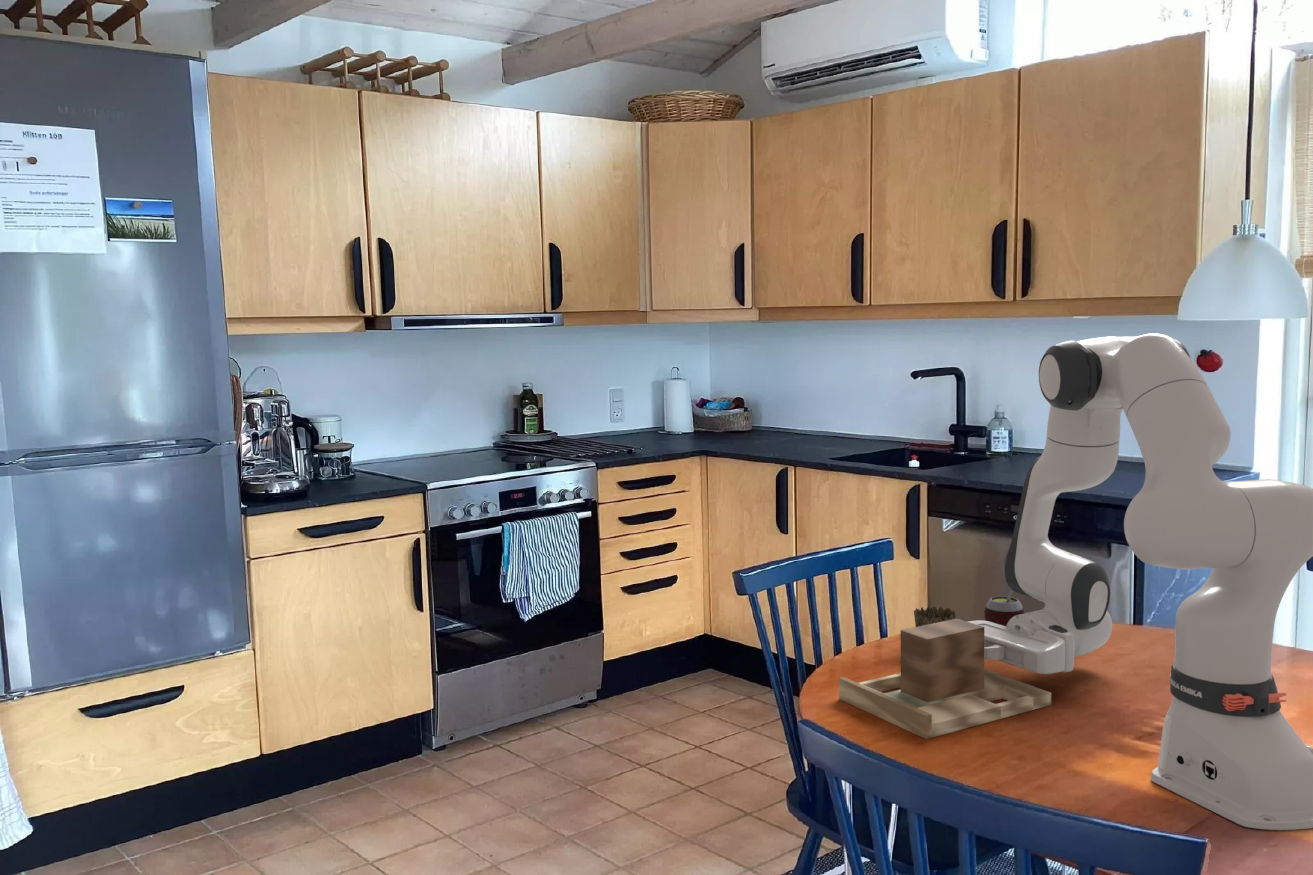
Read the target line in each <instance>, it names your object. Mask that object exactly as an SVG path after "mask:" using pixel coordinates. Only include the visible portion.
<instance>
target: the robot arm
mask: <svg viewBox="0 0 1313 875" xmlns="http://www.w3.org/2000/svg"><path fill="white" fill-rule="evenodd" d="M1038 366H1039V367H1038V382H1039V384H1038V385H1039V388H1040V392H1041V393H1042V396H1043V397H1044V398H1045V400H1046V401H1047V402H1048V403H1049V405H1050V408H1049V412H1048V420H1047V427H1046V440H1045V445H1044V449H1043V451H1042V453H1041V455H1040V456H1037V457H1036V458H1035V459H1034V460H1033V461H1032V462H1031V464H1030V465H1029V467H1028V470H1027V472H1026V475H1025V479H1024V481H1023V482H1024V483H1023V487H1022V492H1021V496H1020V501H1019V505H1018V510H1017V516H1016V520H1015V523H1014V529H1013V534H1012V538H1011V541H1010V543H1009V546H1008V548H1007V551H1006V554H1005V556H1004V559H1003V565H1002V566H1003V567H1002V569H1003V575H1004V579H1005V581H1006V584H1007V585H1008V587H1009V589H1010V588H1011V589H1012V590H1013V592H1014V593H1018V594H1020V595H1023V596H1027V597H1029V598H1033V599H1036V600H1037V601H1040V602H1042V603H1044V607H1043V608H1042V609H1040V610H1035V611H1030V612H1024V614H1020V615H1016V616H1014V617H1012V618H1011V619H1010V620H1009V622H1008V623H1007V626H1003V625H1000V624H996V623H993V622H989V621H985V619H984V620H983V619H982V620H980V619H979V620H978V619H977V620H970V621H969V620H968V621H966V622H970V623H973V624H976V625H979V626H983V627H984V660H989V661H990V660H992V661H993V660H995V661H999V662H1001V663H1005V664H1008V665H1010V666H1014V667H1016V668H1019V669H1023V670H1026V671H1029V672H1032V673H1034V674H1039V675H1050V674H1056V673H1061V672H1062V673H1069V672H1072V671H1074V665H1075V658H1078V657H1081V656H1084V655H1087V654H1090V653H1092V652H1095V651H1096V650H1098V649H1099V648H1101V647H1102V646H1103V645H1105V643H1107V642H1108V641H1109V639H1110V637H1111V634H1112V632H1113V622H1112V617H1111V615H1110V613H1109V611H1108V608H1109V605H1110V600H1111V587H1110V581H1109V576H1108V574H1107V572H1106V570H1105V568H1104V567H1103V566H1102V565H1101V564H1099V563H1097V562H1094V561H1092V560H1090V559H1088V558H1085V557H1083V556H1080V555H1078V554H1076V553H1075V554H1074V553H1072V552H1068V551H1066V550H1064V549H1061V548H1059V547H1057V546H1055V545H1054V544H1053V543H1052V542H1051V541H1050V540H1049V535H1048V534H1049V530H1050V525H1051V520H1052V517H1053V511H1054V507H1055V504H1056V500H1057V498H1058V496H1059V495H1060V494H1061V493H1069V492H1070V493H1071V492H1077V491H1082V490H1087V489H1090V488H1093V487H1096V486H1098V485H1101V484H1102V483H1103V482H1104V481H1106V480H1108V478H1109V477H1110V476H1111V475H1112V474H1113V473H1114V472H1115V468H1116V466H1117V464H1118V459H1119V453H1120V439H1121V416H1122V411H1123V412H1124V414H1125V416H1126V419H1127V421H1128V423H1129V426H1130V428H1131V430H1132V432H1133V435H1134V437H1135V440H1136V442H1137V444H1138V447H1139V450H1140V452H1141V455H1142V458H1143V462H1144V466H1145V467H1144V469H1145V475H1144V476H1145V478H1144V481H1143V486H1142V488H1141V489H1140V490H1139V492H1138V493H1137V494H1136V495H1135V496H1134V497H1133V498H1132V500H1131V501H1130V503H1129V504H1128V506H1127V508H1126V511H1125V513H1124V519H1123V530H1124V531H1123V532H1124V535H1125V536H1124V537H1125V539H1126V542H1127V544H1128V546H1129V548H1130V550H1131V551H1132V552H1133V554H1134V555H1135V556H1136V557H1137V558H1138V559H1139V560H1140V561H1141V562H1142V563H1145V564H1146V565H1151V566H1156V567H1162V568H1169V569H1174V570H1175V569H1176V570H1181V571H1183V570H1185V571H1186V570H1188V571H1189V570H1203V569H1211V572H1210V574H1209V576H1208V578H1207V580H1206V581H1205V582H1204V584H1202V586H1201V587H1200V588H1199V589H1198V590H1196V591H1195V592H1194V593H1192V594H1190V595H1189V596H1188V597H1186V598H1184V600H1183V601H1182V602H1181V603H1180V605H1179V606H1178V608H1177V610H1176V611H1177V612H1176V614H1175V636H1174V639H1175V640H1174V641H1175V643H1174V646H1175V647H1174V662H1173V663H1172V665H1171V666H1170V674H1169V684H1170V685H1169V687H1170V688H1169V692H1170V694H1171V695H1172V699H1171V703H1170V706H1169V708H1168V711H1167V712H1166V714H1165V716H1164V719H1163V725H1162V731H1161V732H1162V733H1161V740H1160V747H1159V755H1158V762H1157V766H1156V767H1155V768H1154V769H1152V771H1151V775H1150V781H1152V782H1153V783H1155V784H1157V785H1158V786H1161V787H1163V788H1164V789H1167V790H1168V791H1171V792H1174V794H1176V795H1179V796H1180V797H1183V798H1185V799H1187V800H1189V801H1191V802H1193V803H1195V804H1197V805H1200V806H1201V807H1203V808H1205V809H1207V810H1210V811H1211V812H1214V813H1216V814H1218V815H1219V816H1221V817H1224V818H1225V819H1227V820H1230V821H1231V822H1234V823H1235V824H1237V825H1240V826H1242V827H1245V828H1252V829H1259V830H1270V831H1283V830H1284V831H1285V830H1286V831H1289V830H1291V831H1293V830H1304V829H1305V830H1306V829H1312V828H1313V747H1312V746H1310V744H1305V742H1304V741H1303V740H1302V738H1301V737H1300V736H1299V735H1298V734H1297V731H1295V730H1294V728H1293V726H1292V725H1291V723H1290V722H1288V720H1287V719H1286V718H1285V716H1284V715H1283V713H1282V711H1281V708H1282V705H1281V703H1284V702H1287V700H1286V699H1280V698H1282V697H1285V696H1287V693H1286V692H1278V686H1277V685H1276V681H1275V677H1274V675H1272V653H1273V639H1274V630H1275V622H1276V617H1277V614H1278V610H1279V607H1280V605H1281V602H1282V599H1283V597H1284V595H1285V593H1286V591H1287V590H1288V588H1289V585H1290V584H1291V582H1292V580H1293V579H1294V577H1295V576H1296V574H1297V573H1298V572H1299V570H1300V569H1301V568H1302V567H1303V566H1304V565H1305V564H1306V563H1307V562H1308V561H1309V560H1310V559H1312V558H1313V488H1312V487H1310V486H1309V485H1305V484H1300V483H1295V482H1290V481H1284V480H1279V479H1278V480H1276V479H1251V480H1250V479H1249V480H1232V481H1231V480H1230V481H1227V480H1221V479H1220V478H1219V477H1218V476H1217V475H1216V474H1215V471H1214V469H1213V465H1215V464H1216V463H1217V462H1218V461H1219V460H1220V459H1221V458H1223V456H1224V455H1225V453H1226V452H1227V450H1228V449H1229V445H1230V441H1231V429H1230V426H1229V424H1228V422H1227V420H1226V418H1225V417H1224V414H1223V412H1222V411H1221V408H1220V407H1219V405H1218V402H1217V400H1216V399H1215V397H1214V395H1213V393H1212V391H1211V389H1210V387H1209V385H1208V383H1207V381H1206V380H1205V378H1204V376H1203V374H1202V373H1201V372H1200V370H1199V369H1198V367H1197V366H1196V364H1195V362H1193V360H1192V358H1191V355H1190V354H1189V351H1188V350H1187V348H1186V347H1185V345H1184V344H1183V343H1182V342H1181V341H1180V340H1178V339H1176V338H1173V337H1171V336H1169V335H1166V334H1164V333H1163V334H1162V333H1156V332H1155V333H1154V332H1153V333H1151V332H1150V333H1145V334H1141V335H1138V336H1102V337H1095V338H1088V339H1087V338H1086V339H1082V340H1077V341H1076V340H1066V341H1063V342H1059V343H1057V344H1054V345H1052V346H1049V348H1047V350H1046V351H1045V352H1044V354H1043V356H1042V357H1041V359H1040V362H1039V365H1038Z"/></svg>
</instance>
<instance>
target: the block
mask: <svg viewBox="0 0 1313 875" xmlns="http://www.w3.org/2000/svg"><path fill="white" fill-rule="evenodd" d="M984 669H985V659H984V627H983V626H979V625H976V624H973V623H970V622H967V621H966V620H963V619H959V618H955V619H952V620H947V621H943V622H938V623H933V624H928V625H923V626H918V627H916V626H914V627H908V628H905V629H900V673H901V688H900V690H901V692H903V693H906V694H908V695H911V696H913V697H915V698H918V699H920V700H923V701H925V702H931V701H935V700H939V699H943V698H947V697H951V696H955V695H959V694H963V693H967V692H971V691H975V690H979V689H983V688H984Z"/></svg>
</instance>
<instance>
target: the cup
mask: <svg viewBox="0 0 1313 875" xmlns="http://www.w3.org/2000/svg"><path fill="white" fill-rule="evenodd" d="M956 616H957V613H956V611H955V610H954V609H951V608H950V607H947V608H945V609H944V608H943V607H942V606H940V607H939V608H938V609H937V607H936V606H932V607H930V605H929V606H927V607H926V609H924V607H921V608H920V609H919V608H918V607H917V608H915V610H913V617H914V623H915V626H914V627H918V626H923V625H928V624H933V623H938V622H943V621H947V620H952V619H956V618H957V617H956Z"/></svg>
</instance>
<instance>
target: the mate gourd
mask: <svg viewBox="0 0 1313 875" xmlns="http://www.w3.org/2000/svg"><path fill="white" fill-rule="evenodd" d="M1013 592H1014V591H1013V590H1012V589H1011V588H1010V587H1009V592H1008V593H1007V594H1008V595H1007V596H1005V595H1003V596H1001V595H1000V596H993V597H990V598H989V600H988V601H987V603H986V604H985V609H984V621H989V622H993V623H996V624H1000V625H1003V626H1007V623H1008V622H1009V620H1010V619H1011V618H1012V617H1014V616H1016V615H1020V614H1025V611H1024V607H1023V604H1022V603H1021V601H1020V600H1019V599H1018V598H1016V597H1013V596H1012V594H1013Z"/></svg>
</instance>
